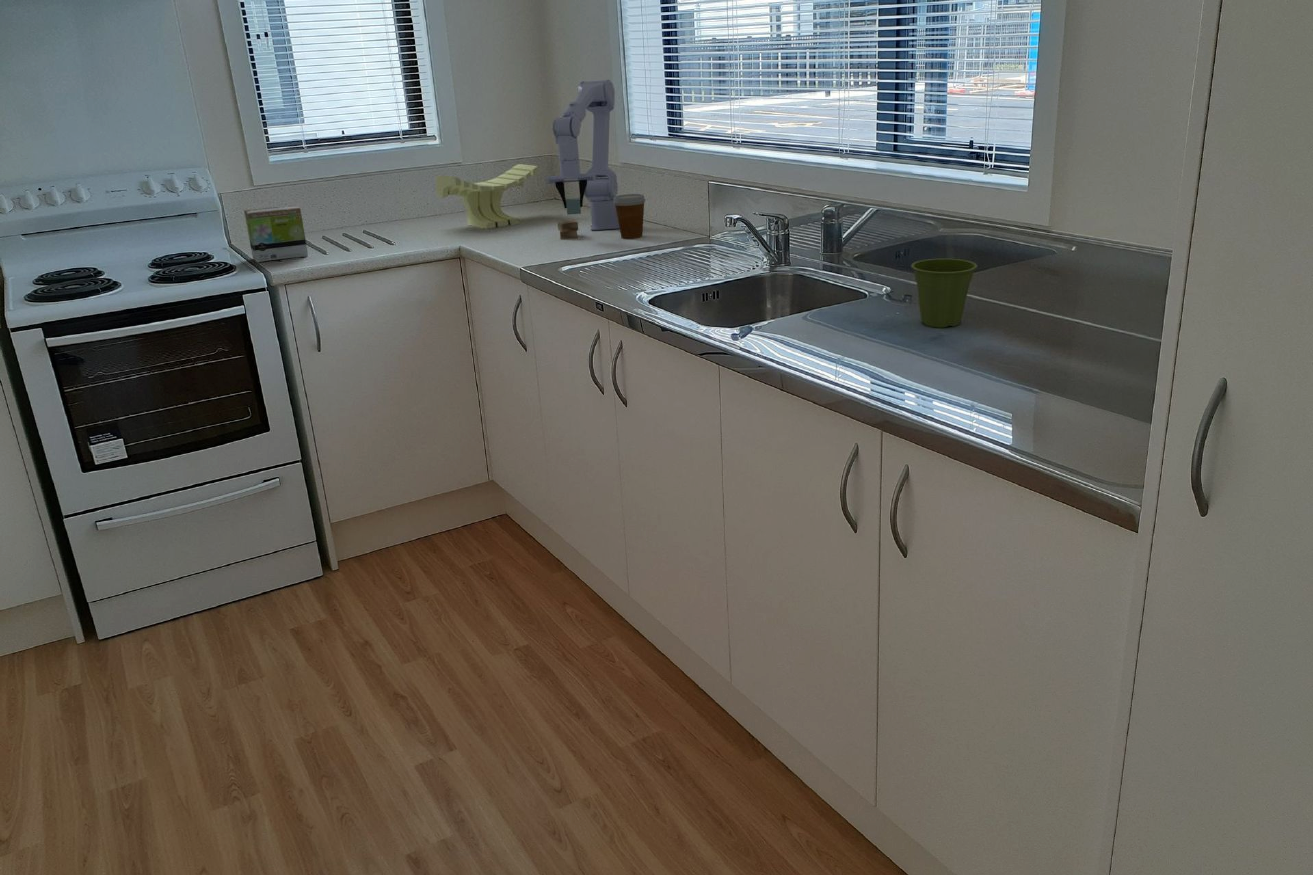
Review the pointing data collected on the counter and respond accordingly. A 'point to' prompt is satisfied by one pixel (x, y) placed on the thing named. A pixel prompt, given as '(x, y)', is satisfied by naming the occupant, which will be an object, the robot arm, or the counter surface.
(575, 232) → the bottom slab
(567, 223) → the top slab
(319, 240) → the counter surface
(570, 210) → the cube
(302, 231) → the tea box
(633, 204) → the disposable coffee cup
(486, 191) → the slatted curved stool
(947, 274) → the plant pot
